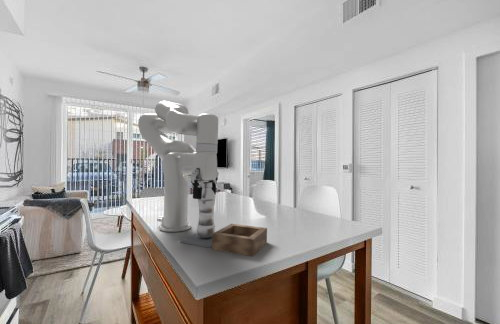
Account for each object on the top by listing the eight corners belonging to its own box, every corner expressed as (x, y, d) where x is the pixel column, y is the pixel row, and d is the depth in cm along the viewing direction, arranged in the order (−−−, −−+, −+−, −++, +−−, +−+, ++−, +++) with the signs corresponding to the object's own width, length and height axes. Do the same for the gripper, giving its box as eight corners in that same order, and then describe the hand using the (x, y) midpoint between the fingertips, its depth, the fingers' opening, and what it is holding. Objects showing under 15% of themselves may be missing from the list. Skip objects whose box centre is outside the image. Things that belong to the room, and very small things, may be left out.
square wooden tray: (212, 249, 77) (212, 233, 77) (230, 237, 90) (231, 223, 90) (253, 256, 72) (253, 239, 72) (266, 242, 85) (267, 228, 85)
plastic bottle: (199, 241, 83) (200, 183, 83) (195, 235, 89) (196, 181, 89) (217, 239, 86) (218, 182, 86) (212, 233, 92) (213, 181, 92)
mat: (180, 242, 83) (180, 241, 83) (199, 233, 94) (199, 232, 94) (210, 247, 78) (210, 246, 78) (227, 237, 90) (227, 236, 90)
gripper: (209, 150, 96) (208, 193, 96) (183, 147, 80) (181, 199, 80) (226, 150, 93) (225, 194, 93) (202, 148, 77) (200, 201, 77)
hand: (204, 196), depth 87 cm, fingers open, 9 cm apart
